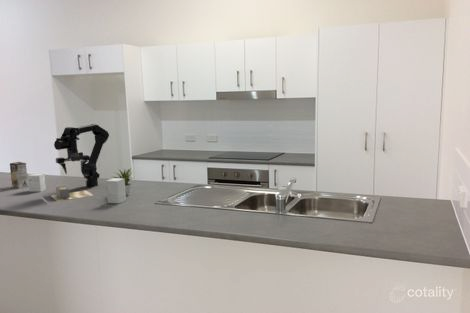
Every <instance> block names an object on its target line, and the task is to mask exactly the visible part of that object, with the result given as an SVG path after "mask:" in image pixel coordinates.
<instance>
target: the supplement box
mask: <svg viewBox="0 0 470 313" xmlns="http://www.w3.org/2000/svg"><path fill="white" fill-rule="evenodd" d="M105 184H106V197H107V203H108V204H120V203H123V202H125V200H127V196H126V195H127V194H126V193H125V179H121V178H120V177H119V178H113V177H112V178H110V179H107V180H105Z"/></svg>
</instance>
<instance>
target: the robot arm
mask: <svg viewBox="0 0 470 313" xmlns="http://www.w3.org/2000/svg"><path fill="white" fill-rule="evenodd" d="M90 132H92V134H93V135H94V144H93V148H92V150H91V154H90V155H87V154H84V153H83V152H81V151H80V152H79V151H78V144H77V143H78V141H79V140H80V138H79V137H78V136H80V135H81V134H84V133H90ZM108 138H110V133H109V131H107V130H106V129H105V128H103V127H101V126H100V125H99V124H95V123H91V124H87V125H82V126H78V127H72V126H71V127H68V126H67V127H64V130H63V133H62V134H61V136H60V137H57V138H55V141H54V143H53V147H54V148H55V150H56V151H60V150H66V152H67V157H66V158H65V157H56V158H55V163H56V164H59V165H60V166H61V167H62V170H63V172H64V173H65V175H67V174H68V173H67V172H68V171H67V166H66V165H67V164H66V163H67V162H80V171H81V173H82V176H83V178H84V179H85V187H86V188H94V187H98V186H99V182H98V181H99V180H98V179H99V178H100V176H101V175H100V173H98V172H97V170H98V168H97V162H98V160H99V157H100V154H101V151H102V149H103V148H102V147H103V146H104V144H106V142H108ZM65 162H66V163H65Z"/></svg>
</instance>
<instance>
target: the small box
mask: <svg viewBox="0 0 470 313" xmlns="http://www.w3.org/2000/svg"><path fill="white" fill-rule="evenodd" d="M45 177H46V176H45V173H31V174H27V180H28V191H29V192H30V193H31V192H33V193H34V192H38V193H39V192H43V191H45V190H47V187H46V179H45Z"/></svg>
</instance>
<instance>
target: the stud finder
mask: <svg viewBox="0 0 470 313" xmlns="http://www.w3.org/2000/svg"><path fill="white" fill-rule="evenodd" d="M55 190H56V191H55V194H56V195H57V196H58V197H59V198H60V199H63V198H70V195H69V193H70V189H69V188H68V187H67V186H66V185H65V186H58V187H55Z"/></svg>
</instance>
